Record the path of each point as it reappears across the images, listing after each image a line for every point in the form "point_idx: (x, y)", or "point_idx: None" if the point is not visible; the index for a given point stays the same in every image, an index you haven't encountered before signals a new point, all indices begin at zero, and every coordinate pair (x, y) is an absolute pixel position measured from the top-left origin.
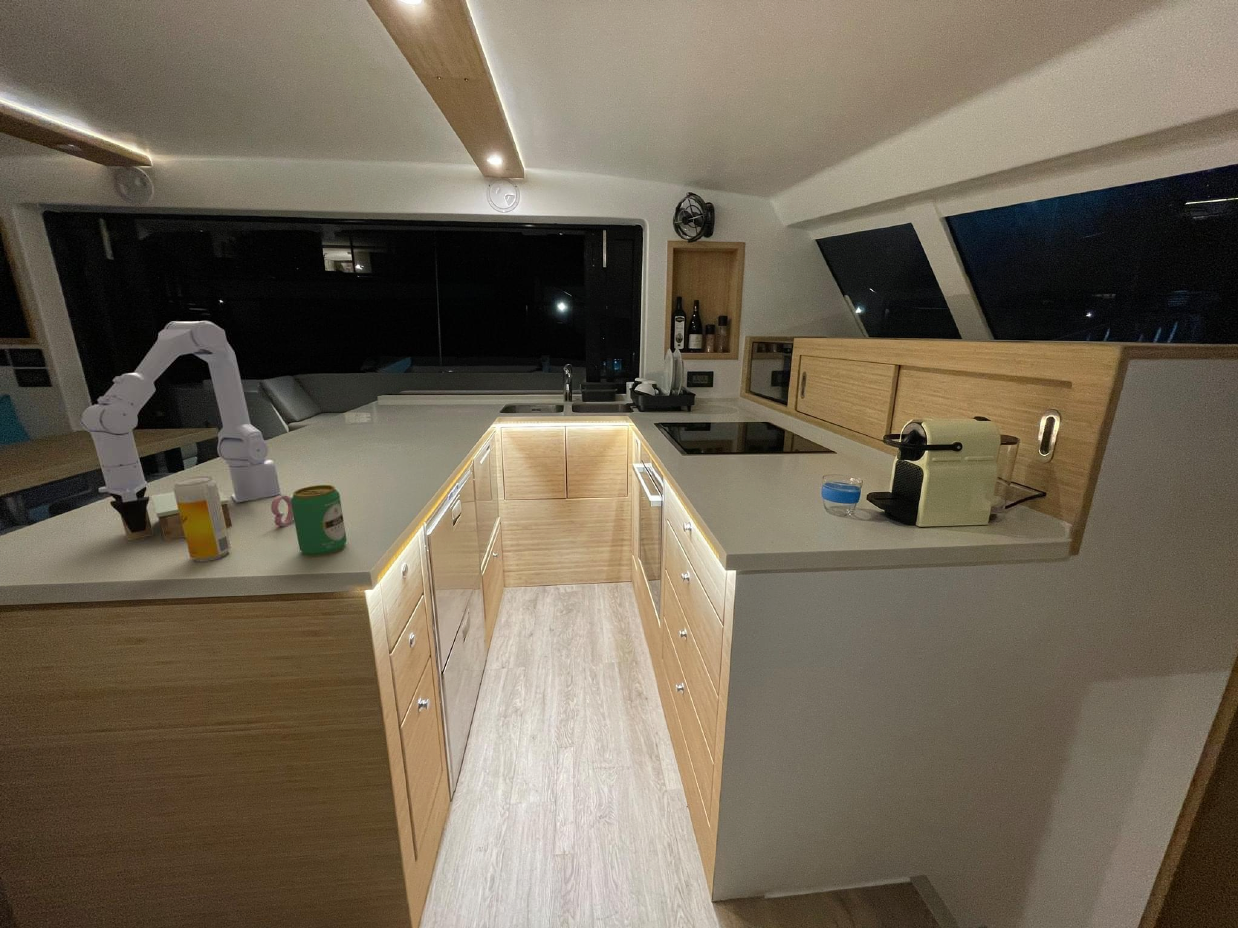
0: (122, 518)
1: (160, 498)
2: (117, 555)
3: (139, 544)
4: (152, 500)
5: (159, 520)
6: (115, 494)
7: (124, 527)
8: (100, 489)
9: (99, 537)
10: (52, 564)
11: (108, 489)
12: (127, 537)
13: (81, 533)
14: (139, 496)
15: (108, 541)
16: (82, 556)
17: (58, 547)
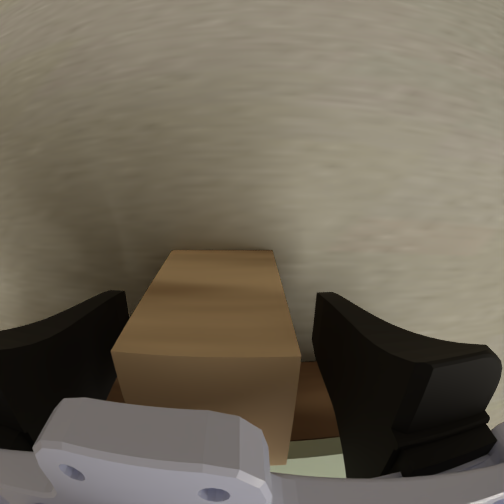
0: (141, 307)
1: (332, 474)
2: (3, 217)
3: (75, 283)
4: (326, 455)
5: (318, 374)
6: (404, 395)
7: (155, 278)
8: (33, 451)
9: (329, 149)
10: (58, 28)
11: (29, 485)
12: (169, 256)
13: (452, 105)
14: (351, 453)
15: (216, 180)
16: (67, 103)
17: (299, 12)
